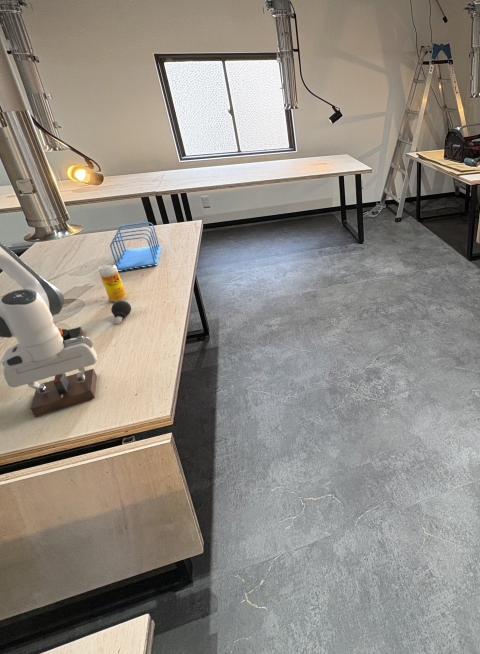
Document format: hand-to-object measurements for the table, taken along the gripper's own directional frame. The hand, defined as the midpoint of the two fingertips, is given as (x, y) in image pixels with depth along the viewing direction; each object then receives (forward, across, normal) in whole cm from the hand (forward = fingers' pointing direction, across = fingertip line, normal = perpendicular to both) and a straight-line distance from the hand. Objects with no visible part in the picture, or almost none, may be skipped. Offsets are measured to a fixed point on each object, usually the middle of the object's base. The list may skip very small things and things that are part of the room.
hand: (62, 385), depth 118 cm
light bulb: (+4, -14, -40) cm, 43 cm away
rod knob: (+1, 0, 0) cm, 1 cm away
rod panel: (+4, 0, 0) cm, 4 cm away
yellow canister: (+4, -12, -58) cm, 59 cm away
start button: (0, +5, -32) cm, 32 cm away
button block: (+4, +5, -32) cm, 33 cm away
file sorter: (+4, -21, -98) cm, 100 cm away
